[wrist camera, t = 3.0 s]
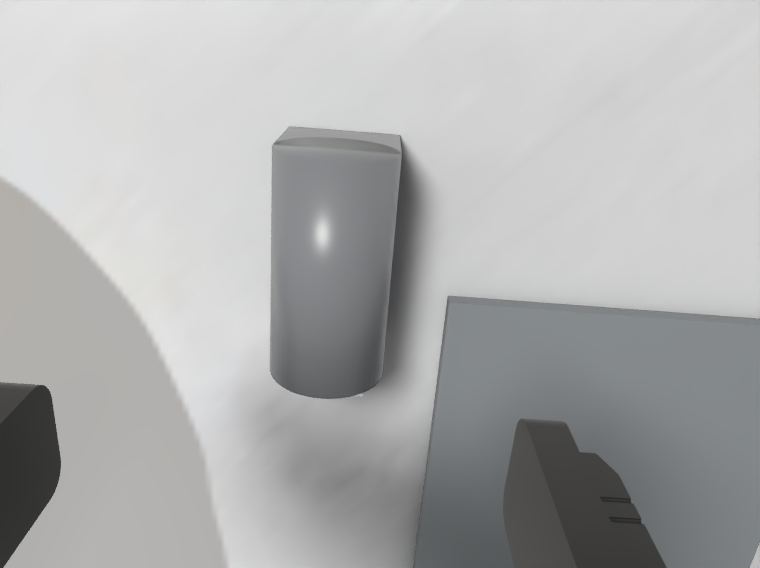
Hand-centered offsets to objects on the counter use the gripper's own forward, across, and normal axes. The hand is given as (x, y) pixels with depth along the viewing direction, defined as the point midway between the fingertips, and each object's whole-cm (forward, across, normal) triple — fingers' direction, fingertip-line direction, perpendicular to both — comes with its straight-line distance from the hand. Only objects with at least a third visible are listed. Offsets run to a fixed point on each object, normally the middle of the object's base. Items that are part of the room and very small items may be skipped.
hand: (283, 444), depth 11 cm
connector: (+12, 0, 0) cm, 12 cm away
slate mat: (+12, -11, +9) cm, 18 cm away
